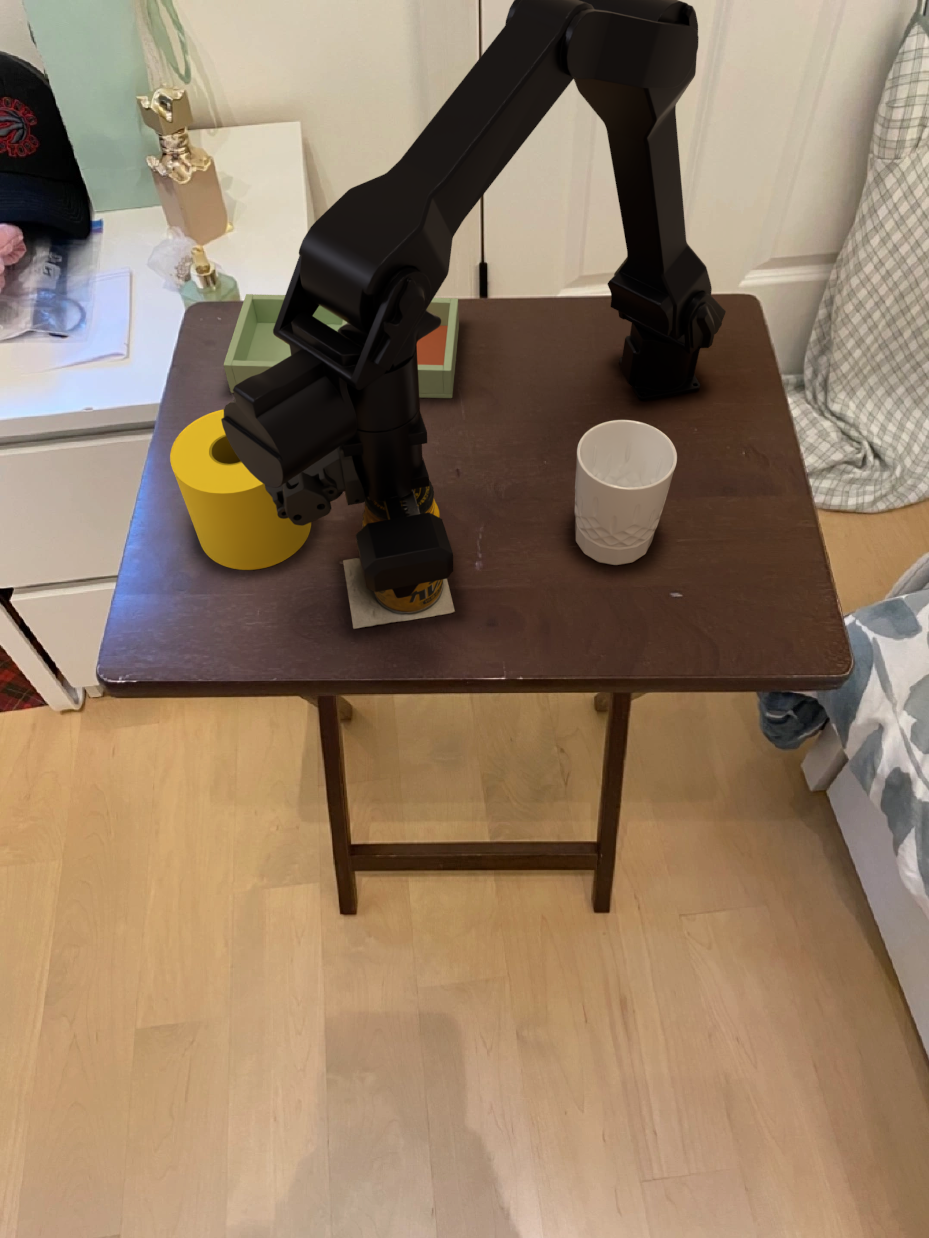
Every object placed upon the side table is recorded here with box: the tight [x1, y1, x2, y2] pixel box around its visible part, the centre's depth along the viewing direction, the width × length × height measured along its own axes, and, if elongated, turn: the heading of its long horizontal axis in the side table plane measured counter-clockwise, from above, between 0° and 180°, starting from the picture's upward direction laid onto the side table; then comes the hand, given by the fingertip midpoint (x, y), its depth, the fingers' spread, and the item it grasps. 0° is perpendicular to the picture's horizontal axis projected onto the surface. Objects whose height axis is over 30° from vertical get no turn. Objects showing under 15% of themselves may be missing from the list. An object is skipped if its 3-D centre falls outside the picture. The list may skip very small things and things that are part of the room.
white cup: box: [574, 419, 678, 566], centre depth 78 cm, size 8×8×10 cm
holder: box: [222, 293, 460, 399], centre depth 96 cm, size 22×12×4 cm, turn 87°
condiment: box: [342, 479, 456, 630], centre depth 74 cm, size 7×8×12 cm
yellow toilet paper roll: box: [169, 408, 312, 571], centre depth 80 cm, size 10×10×9 cm
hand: (392, 556), depth 76 cm, fingers open, 8 cm apart
